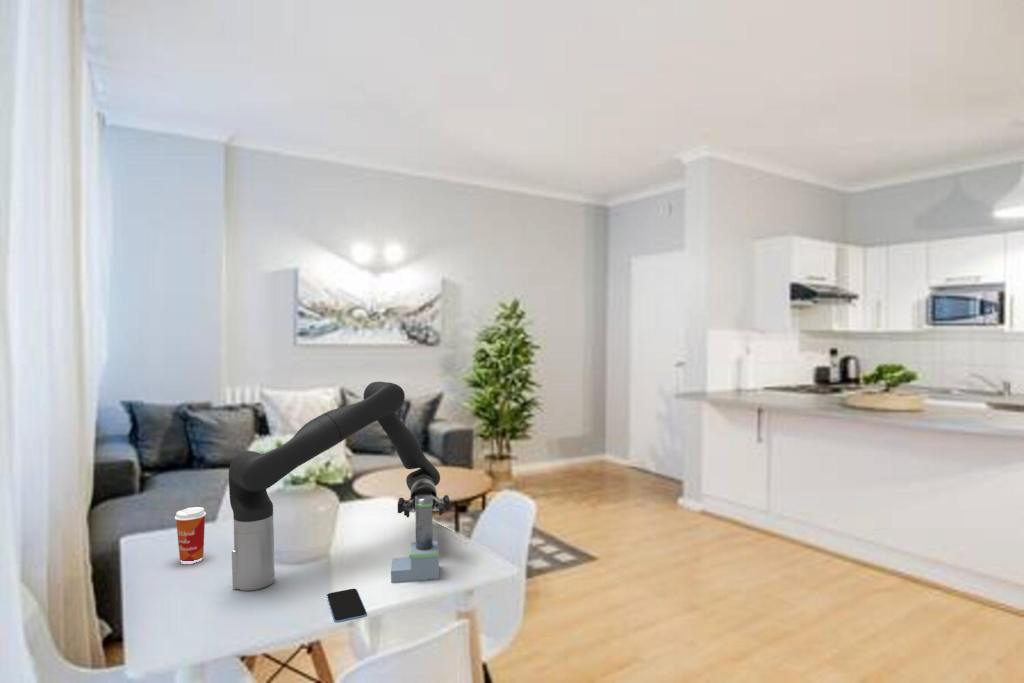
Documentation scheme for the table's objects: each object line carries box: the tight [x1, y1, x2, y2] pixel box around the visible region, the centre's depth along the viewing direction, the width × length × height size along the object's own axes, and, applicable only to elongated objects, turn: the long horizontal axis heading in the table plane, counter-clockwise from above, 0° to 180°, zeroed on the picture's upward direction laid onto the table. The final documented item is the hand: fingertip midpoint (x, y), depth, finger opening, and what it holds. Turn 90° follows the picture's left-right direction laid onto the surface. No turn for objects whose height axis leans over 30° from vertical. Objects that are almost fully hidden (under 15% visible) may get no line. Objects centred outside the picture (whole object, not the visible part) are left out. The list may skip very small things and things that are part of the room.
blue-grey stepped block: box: [390, 540, 440, 584], centre depth 155 cm, size 12×8×7 cm
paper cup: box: [174, 506, 207, 561], centre depth 165 cm, size 8×8×14 cm
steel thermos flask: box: [414, 495, 434, 550], centre depth 156 cm, size 5×5×13 cm
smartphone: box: [326, 588, 368, 624], centre depth 139 cm, size 7×1×15 cm
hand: (424, 512), depth 158 cm, fingers open, 8 cm apart
